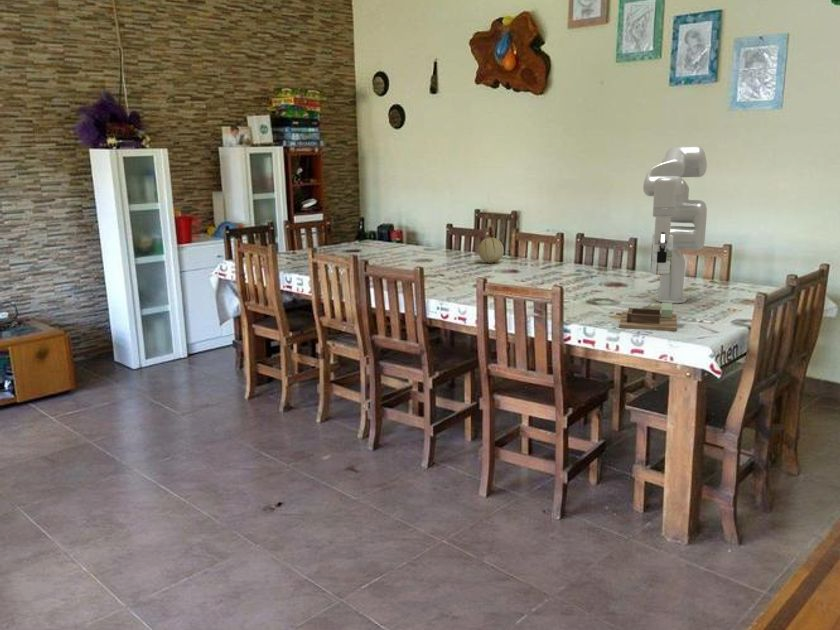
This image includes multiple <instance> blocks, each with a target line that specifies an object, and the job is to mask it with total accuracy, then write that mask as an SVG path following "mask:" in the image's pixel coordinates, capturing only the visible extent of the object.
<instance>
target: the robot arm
mask: <svg viewBox="0 0 840 630" xmlns="http://www.w3.org/2000/svg"><path fill="white" fill-rule="evenodd" d="M707 163H708V162H707V156H706V152H705V150H704V149H703V148H702V147H701V146H698V145H679V146H673V147H670V148H669V149H668V150H667V151H666V153H665V156H664V158H663V159H662V161H661V163H659V164H658V165H655V166H652V167H651V168H650V169H649V170H648V171H647V173H646V175H645V179H644V181H643V185H642V186H643V188H642V189H643V192H644V194H645V196H647V197H653V206H652V217H653V218H655V221H654V233H653V234H655V235H654V243H655V244H656V243H658V242H659V243H658V252H657V263H666V255H667V252H666V243H667V244H668V242H669V236H670V234H671V235H672V236H673V250H672V264H671V274H667V275H660V277H659V278H660V279H659V291H658V293H659V294H658V295H657V296H655V298H654V299H655V301H656V302H659V303H672V304H684V303H686V302H687V300H688V299H687V297H685V296H684V284H685V283H684V282H685V269H686V268H685V267H686V260H685V257H684V255H683V254H682V252H681V251H682V250H689V251H690V250H691V251H699V250H701V249H703V247H704V245H705V241H706V230H707V213H708V211H707V210H708V209H707V204H706V202H705V201H703V200H700V199H699V200H698V199H689V195H690V187H689V185H688V183H687V182H686V180H684V178H701V177H704V176H705V174H706V173H707V168H708V164H707ZM671 223H674V224H693V225H694V226H683V225H671ZM660 239H661V243H660V241H659V240H660ZM666 241H667V242H666ZM680 250H681V251H680ZM664 251H665V252H664Z"/></svg>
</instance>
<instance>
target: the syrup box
mask: <svg viewBox="0 0 840 630" xmlns="http://www.w3.org/2000/svg"><path fill="white" fill-rule="evenodd" d="M654 235H655V234H654V233H653V234H652V238H651V254H650V255H651V256H650V258H651V259H650V273H651V274H653V275H656V276H658V275H667V274H671V264H672V250H673V236H672V235H671V234H670V236H669V242H668V244H667V243H666V252H667V255H666V263H657V252H658V243H659V242H658V243H656V244H655V243H654ZM659 241H660V243H661V239H660V240H659ZM666 242H667V241H666ZM664 252H665V251H664Z"/></svg>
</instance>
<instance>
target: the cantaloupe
mask: <svg viewBox="0 0 840 630" xmlns="http://www.w3.org/2000/svg"><path fill="white" fill-rule="evenodd" d="M504 249H505V248H504V245H503V243H502V241H501V240H499V238H496V237H491V236H487V238H484V239H483V240H481V242H480V243H479V245H478V248H477V251H478V256H479V258H480V259H481V260H482V261H484V262H485V263H487V262H488V263H487V264H494V263H493V262H495V263H497V262H499V261H500V260H502V258H503V257H504V253H505V250H504Z"/></svg>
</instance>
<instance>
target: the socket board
mask: <svg viewBox="0 0 840 630" xmlns="http://www.w3.org/2000/svg"><path fill="white" fill-rule="evenodd" d="M619 320H620V321H619V323H618V328H619V329H633V330H634V329H635V330H649V331H651V330H652V331H668V332H669V331H670V332H677V329H678V327H677V326H678V325H677V322H678V321H677V313H672V318H665V317H661V308H660V309H659V308H641V307H639V308H638V307H634V308H633V307H628V310H627V311H622V312H621V317H620V319H619Z"/></svg>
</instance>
